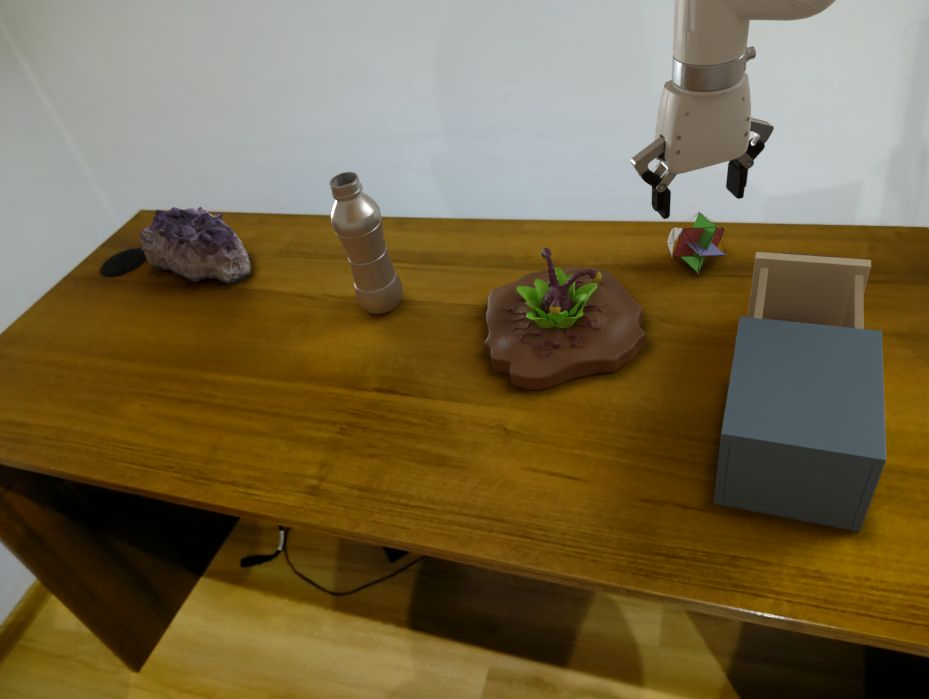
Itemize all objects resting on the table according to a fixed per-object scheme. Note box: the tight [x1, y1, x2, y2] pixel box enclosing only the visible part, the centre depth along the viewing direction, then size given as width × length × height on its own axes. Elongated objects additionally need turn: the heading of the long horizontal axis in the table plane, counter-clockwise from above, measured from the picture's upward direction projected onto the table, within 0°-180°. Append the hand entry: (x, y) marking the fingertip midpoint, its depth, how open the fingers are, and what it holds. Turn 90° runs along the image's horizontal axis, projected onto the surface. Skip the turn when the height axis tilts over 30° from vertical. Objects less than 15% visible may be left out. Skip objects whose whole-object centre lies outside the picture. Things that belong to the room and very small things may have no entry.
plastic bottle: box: [328, 171, 404, 315], centre depth 94 cm, size 6×7×20 cm
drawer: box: [747, 251, 872, 329], centre depth 78 cm, size 19×11×9 cm, turn 159°
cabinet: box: [713, 316, 887, 533], centre depth 68 cm, size 16×13×11 cm
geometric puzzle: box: [666, 211, 728, 274], centre depth 94 cm, size 7×7×8 cm
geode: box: [139, 206, 253, 285], centre depth 114 cm, size 20×12×10 cm, turn 60°
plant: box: [483, 247, 647, 391], centre depth 87 cm, size 20×20×11 cm
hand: (698, 203), depth 90 cm, fingers open, 9 cm apart
